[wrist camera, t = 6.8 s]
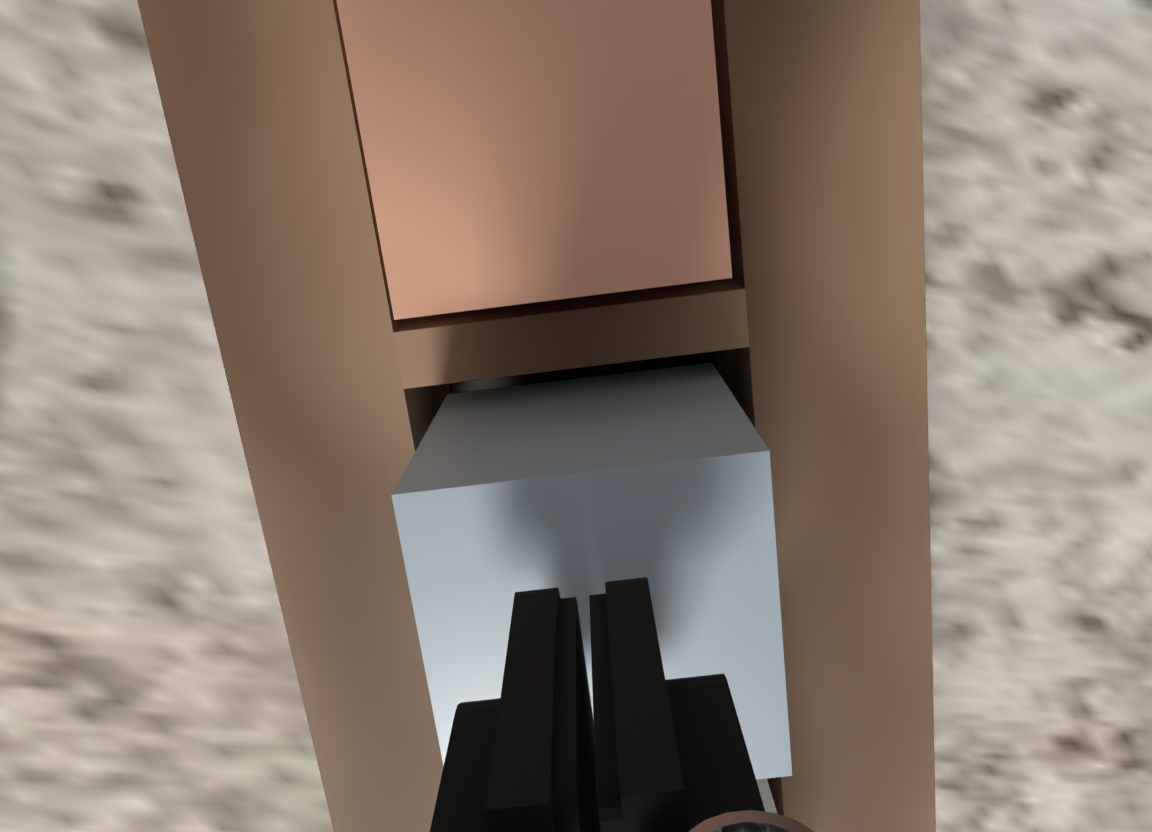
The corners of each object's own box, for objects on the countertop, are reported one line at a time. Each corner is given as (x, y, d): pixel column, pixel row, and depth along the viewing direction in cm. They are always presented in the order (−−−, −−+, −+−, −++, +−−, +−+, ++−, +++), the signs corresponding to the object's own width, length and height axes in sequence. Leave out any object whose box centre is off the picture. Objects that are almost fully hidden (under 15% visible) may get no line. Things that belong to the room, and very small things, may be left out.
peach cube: (665, -25, 17) (702, -103, 12) (689, 244, 18) (732, 278, 13) (402, 11, 17) (327, -51, 12) (445, 275, 18) (394, 319, 13)
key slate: (711, 362, 17) (769, 450, 12) (732, 603, 18) (792, 775, 13) (447, 394, 17) (391, 494, 12) (487, 630, 18) (452, 811, 13)
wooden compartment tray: (831, -151, 17) (914, -253, 13) (872, 840, 24) (939, 993, 19) (220, -65, 18) (105, -136, 14) (419, 886, 24) (384, 1045, 20)
